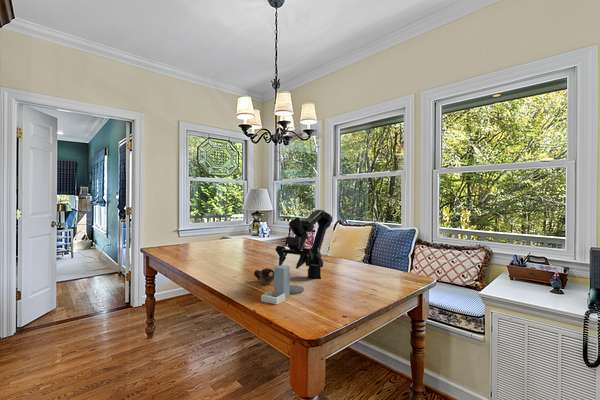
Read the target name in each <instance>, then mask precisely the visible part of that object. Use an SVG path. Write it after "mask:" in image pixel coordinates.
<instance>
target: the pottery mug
mask: <svg viewBox="0 0 600 400" xmlns="http://www.w3.org/2000/svg"><path fill="white" fill-rule="evenodd" d="M271 273H272V275H270V274H271ZM253 275H254V277H255V278H257V280H258V281H261V282H260V283H261V285H263V286H264V285H265V284H268V283H271V282H273V281H274V269H273V268H272V269H271V268H269V267H268V268H266V267H265V268H263V269H261V270H258V269H256V270H255V271H254V272H253Z"/></svg>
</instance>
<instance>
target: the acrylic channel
mask: <svg viewBox="0 0 600 400" xmlns="http://www.w3.org/2000/svg"><path fill="white" fill-rule="evenodd" d="M260 299H261V302H263V303H268V304H273V305H278V304H280V303H282V302H283V301H285V300H286V297H285V293H283V294H282V295H280V296H278V297H275V296H273V291H272V290H269V291H267V292H266V293H263V294H262V295H261V297H260Z"/></svg>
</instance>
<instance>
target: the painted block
mask: <svg viewBox="0 0 600 400" xmlns="http://www.w3.org/2000/svg"><path fill="white" fill-rule="evenodd" d="M273 271H274V280H273V283H274V284H273V297H278V296H280V295H282V294H283V293H285V298H286V297H289V296H291V294H290V285H291V284H290V283H291V282H290V275H291V274H290V273H291V272H290V266H289V265H283V264H282V265H279V264H278V265H277V266H274V267H273Z"/></svg>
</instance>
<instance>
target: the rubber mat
mask: <svg viewBox="0 0 600 400" xmlns="http://www.w3.org/2000/svg"><path fill="white" fill-rule="evenodd" d="M304 291H305V288H304V287H303V286H301V285H295V284H292V285H291V284H290V295H298V294H302V293H304Z"/></svg>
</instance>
